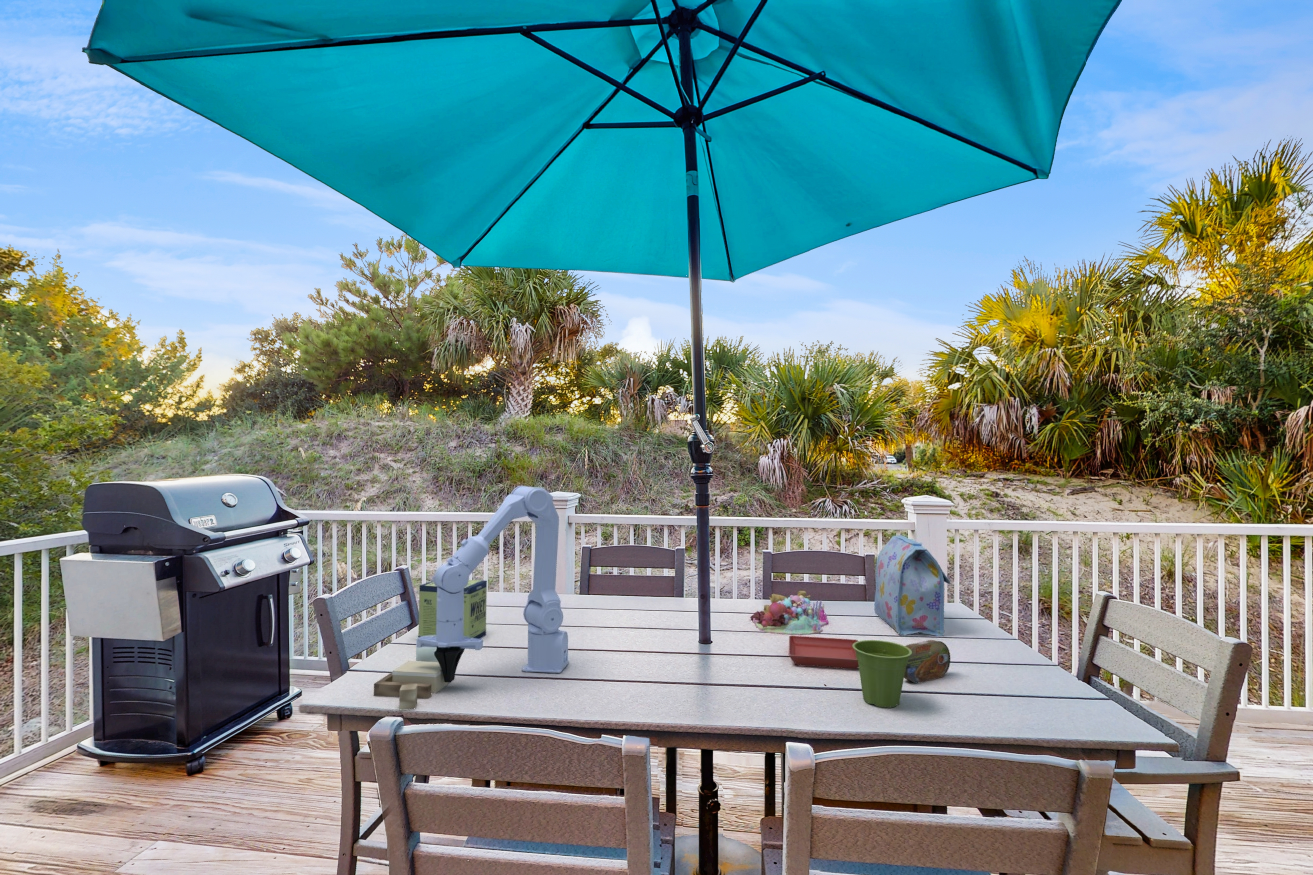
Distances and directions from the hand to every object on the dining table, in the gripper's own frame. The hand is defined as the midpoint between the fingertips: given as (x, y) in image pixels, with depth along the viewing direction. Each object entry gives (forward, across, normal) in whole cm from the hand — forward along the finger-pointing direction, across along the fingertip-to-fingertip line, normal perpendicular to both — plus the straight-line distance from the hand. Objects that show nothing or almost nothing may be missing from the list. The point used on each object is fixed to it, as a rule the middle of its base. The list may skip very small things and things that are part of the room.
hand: (449, 680), depth 142 cm
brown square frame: (+2, -9, 0) cm, 9 cm away
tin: (+2, +106, +21) cm, 108 cm away
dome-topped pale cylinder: (+2, -11, +12) cm, 16 cm away
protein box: (+2, -16, +36) cm, 39 cm away
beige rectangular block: (+2, -6, 0) cm, 7 cm away
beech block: (+2, -4, -11) cm, 12 cm away
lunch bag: (+2, +115, +67) cm, 133 cm away
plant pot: (+2, +93, +5) cm, 93 cm away
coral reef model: (+2, +79, +65) cm, 103 cm away
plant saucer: (+2, +85, +33) cm, 92 cm away
